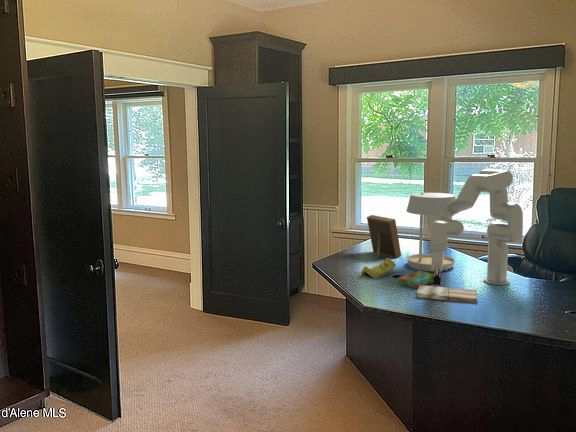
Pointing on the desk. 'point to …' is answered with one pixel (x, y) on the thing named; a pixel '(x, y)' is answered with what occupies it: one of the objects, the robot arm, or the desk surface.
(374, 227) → the photo frame
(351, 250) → the desk surface
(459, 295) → the oak floorboard
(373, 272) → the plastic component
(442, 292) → the birch plank
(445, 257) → the lamp
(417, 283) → the puzzle game
